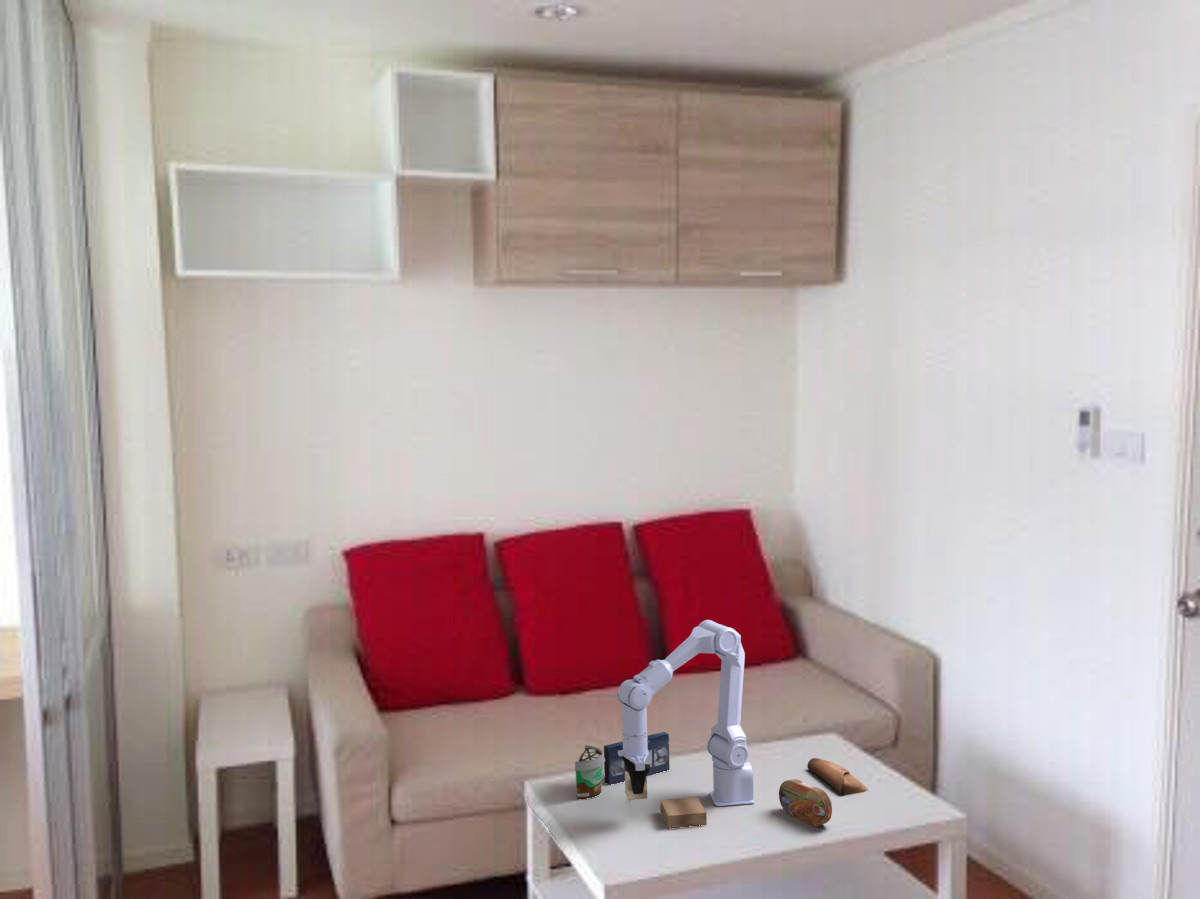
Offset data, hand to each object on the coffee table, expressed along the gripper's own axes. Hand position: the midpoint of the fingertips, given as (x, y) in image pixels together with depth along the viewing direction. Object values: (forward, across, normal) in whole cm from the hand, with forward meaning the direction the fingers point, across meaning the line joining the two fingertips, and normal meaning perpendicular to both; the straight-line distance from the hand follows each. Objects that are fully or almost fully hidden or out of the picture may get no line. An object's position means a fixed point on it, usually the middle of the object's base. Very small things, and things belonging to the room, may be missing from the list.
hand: (636, 789), depth 258 cm
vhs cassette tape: (+8, -27, +4) cm, 29 cm away
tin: (+8, +5, +39) cm, 40 cm away
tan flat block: (+8, 0, +11) cm, 14 cm away
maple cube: (+2, 0, 0) cm, 2 cm away
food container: (+8, -19, -8) cm, 22 cm away
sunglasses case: (+9, -15, +54) cm, 57 cm away
